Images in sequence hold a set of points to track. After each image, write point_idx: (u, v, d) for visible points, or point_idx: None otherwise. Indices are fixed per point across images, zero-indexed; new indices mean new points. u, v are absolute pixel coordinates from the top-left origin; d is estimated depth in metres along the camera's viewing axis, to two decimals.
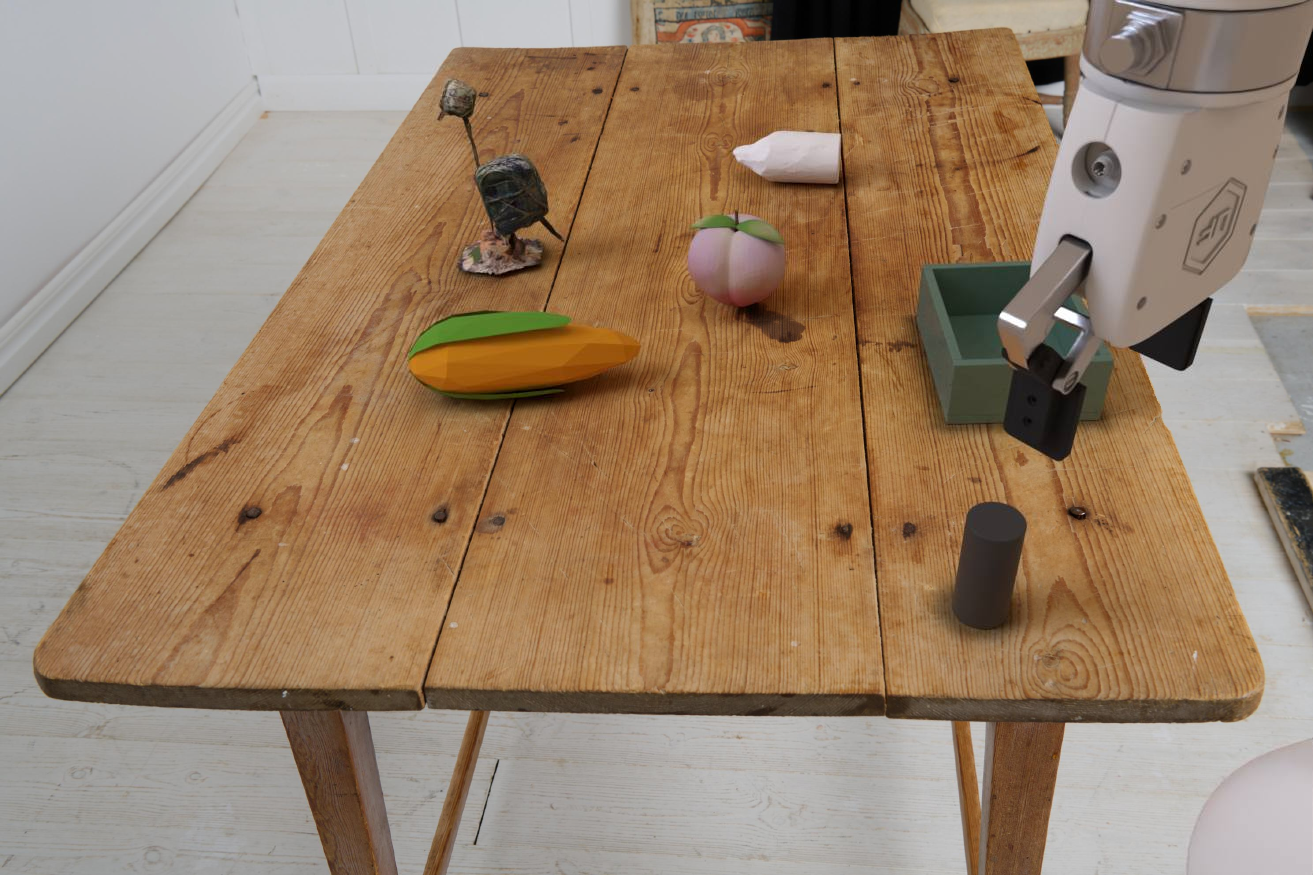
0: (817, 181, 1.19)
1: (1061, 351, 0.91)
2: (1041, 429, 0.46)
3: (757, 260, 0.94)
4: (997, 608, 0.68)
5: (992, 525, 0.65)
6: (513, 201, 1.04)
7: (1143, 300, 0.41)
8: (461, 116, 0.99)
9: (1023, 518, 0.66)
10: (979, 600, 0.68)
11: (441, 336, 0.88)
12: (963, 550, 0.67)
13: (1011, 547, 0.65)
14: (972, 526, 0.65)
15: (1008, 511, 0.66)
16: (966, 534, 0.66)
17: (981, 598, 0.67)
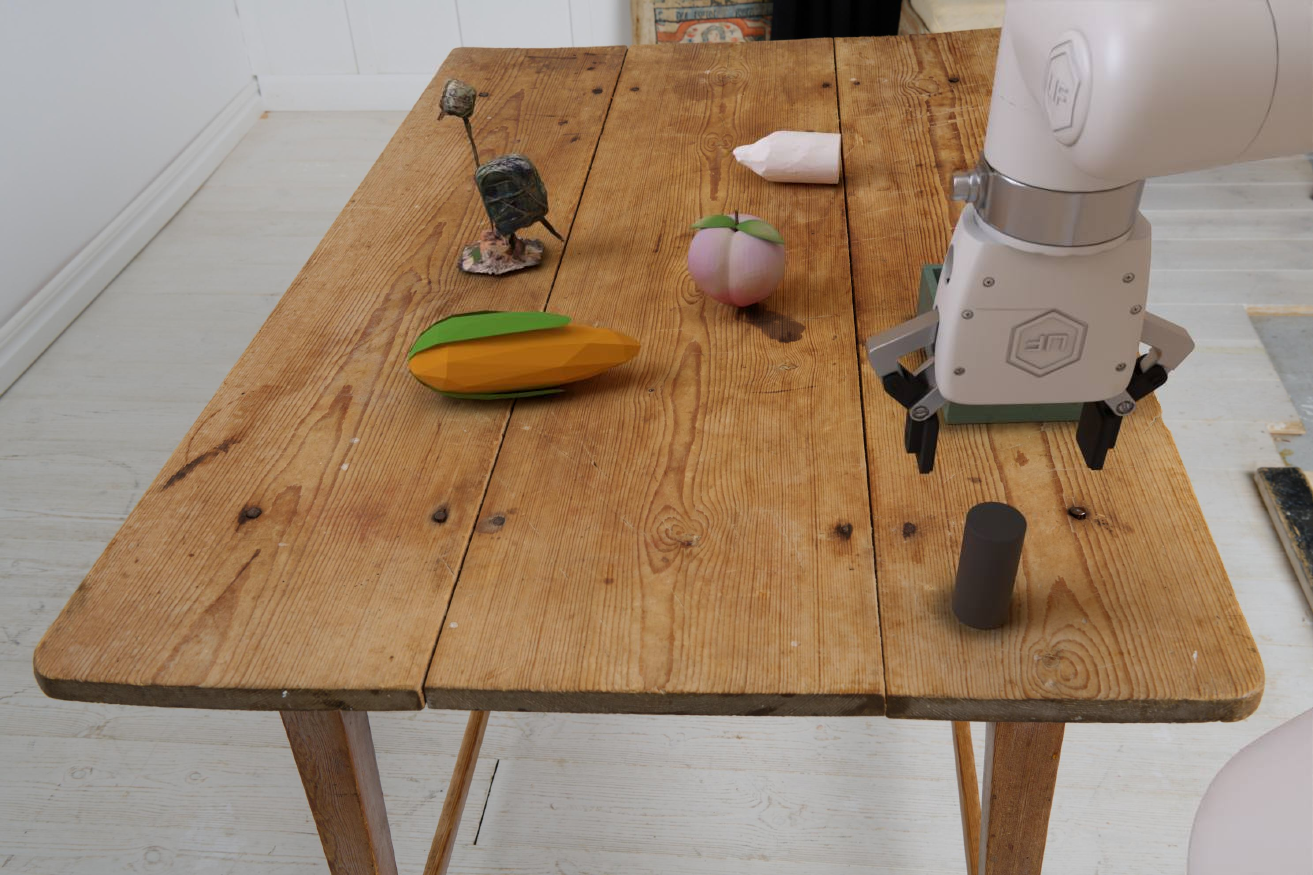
0: (817, 181, 1.19)
1: None
2: (909, 443, 0.62)
3: (757, 260, 0.94)
4: (997, 608, 0.68)
5: (992, 525, 0.65)
6: (513, 201, 1.04)
7: (964, 371, 0.56)
8: (461, 116, 0.99)
9: (1023, 518, 0.66)
10: (979, 600, 0.68)
11: (441, 336, 0.88)
12: (963, 550, 0.67)
13: (1011, 547, 0.65)
14: (972, 526, 0.65)
15: (1008, 511, 0.66)
16: (966, 534, 0.66)
17: (981, 598, 0.67)
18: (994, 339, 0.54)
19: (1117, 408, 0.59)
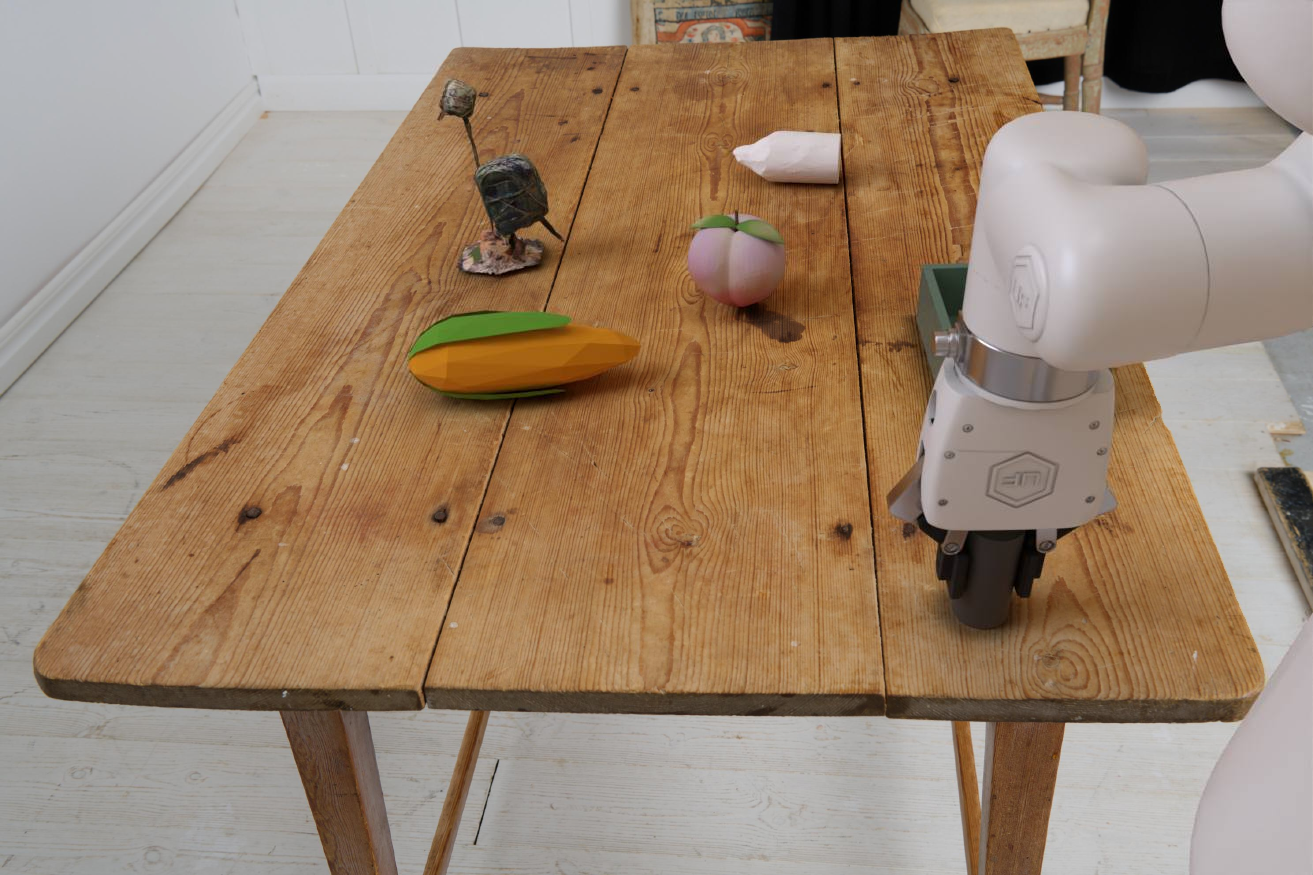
0: (817, 181, 1.19)
1: None
2: (940, 571, 0.68)
3: (757, 260, 0.94)
4: (997, 608, 0.68)
5: None
6: (513, 201, 1.04)
7: (947, 502, 0.61)
8: (461, 116, 0.99)
9: None
10: (979, 600, 0.68)
11: (441, 336, 0.88)
12: None
13: (1011, 547, 0.65)
14: None
15: None
16: None
17: (981, 598, 0.67)
18: (974, 476, 0.60)
19: (1040, 546, 0.65)
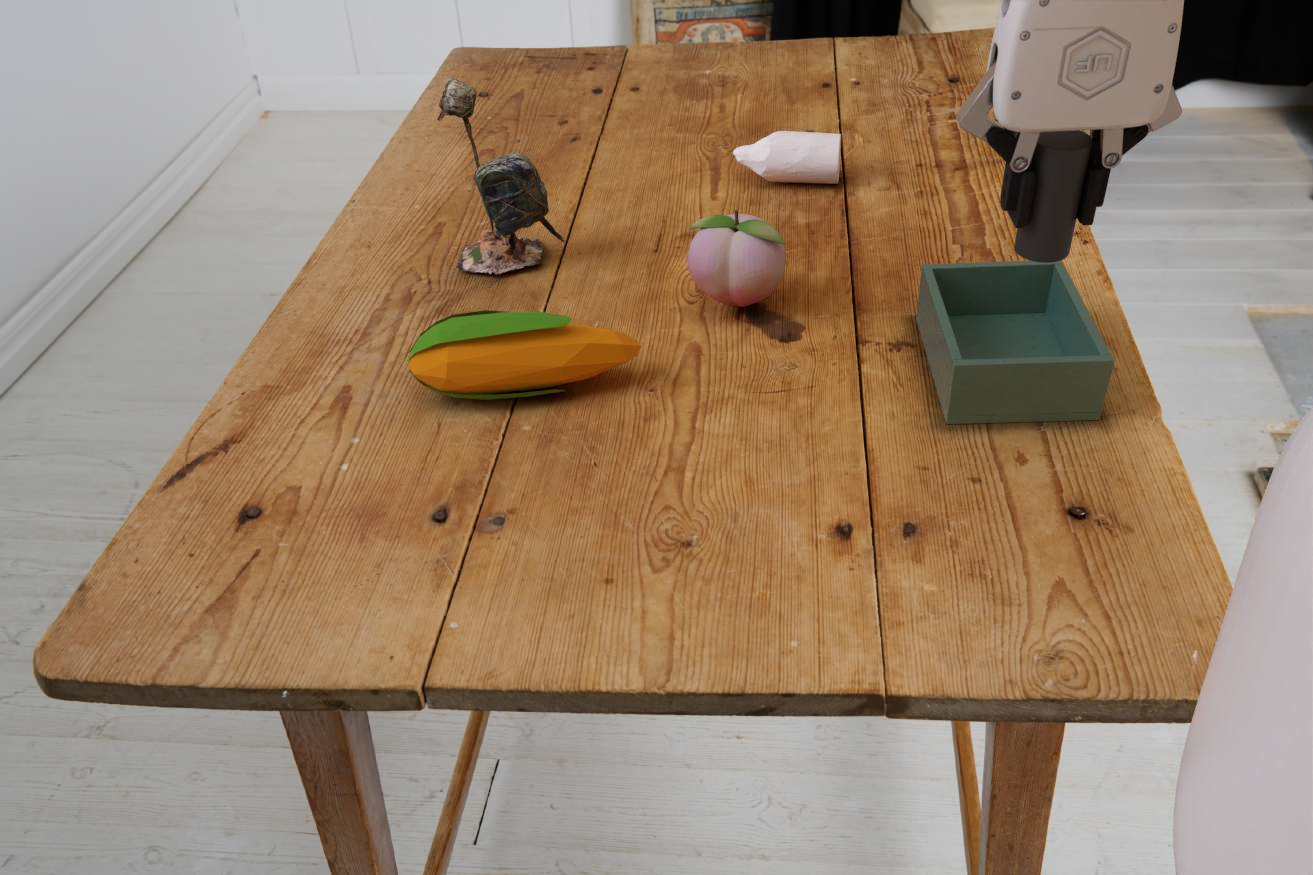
0: (817, 181, 1.19)
1: (1061, 351, 0.91)
2: (1007, 199, 0.70)
3: (757, 260, 0.94)
4: (1060, 236, 0.70)
5: (1059, 141, 0.67)
6: (513, 201, 1.04)
7: (1020, 95, 0.63)
8: (461, 116, 0.99)
9: (1088, 136, 0.68)
10: (1044, 227, 0.70)
11: (441, 336, 0.88)
12: None
13: (1078, 158, 0.67)
14: (1039, 142, 0.67)
15: (1073, 132, 0.68)
16: (1033, 154, 0.68)
17: (1046, 224, 0.70)
18: (1048, 60, 0.62)
19: (1105, 161, 0.67)
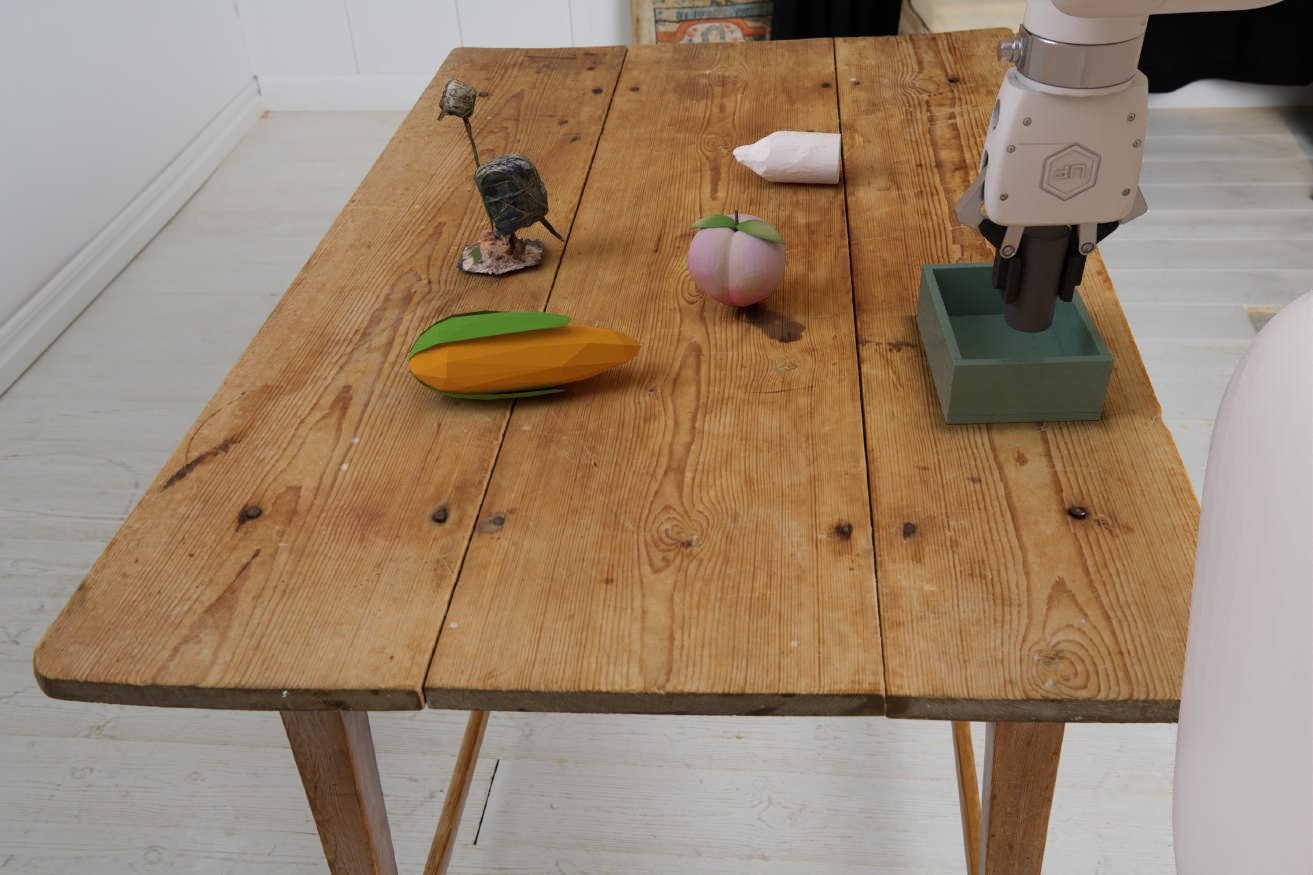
0: (817, 181, 1.19)
1: (1061, 351, 0.91)
2: (997, 279, 0.80)
3: (757, 260, 0.94)
4: (1044, 311, 0.81)
5: (1042, 231, 0.78)
6: (513, 201, 1.04)
7: (1007, 197, 0.74)
8: (461, 116, 0.99)
9: (1067, 226, 0.78)
10: (1029, 303, 0.80)
11: (441, 336, 0.88)
12: None
13: (1058, 247, 0.77)
14: (1025, 232, 0.78)
15: None
16: None
17: (1031, 300, 0.80)
18: (1030, 169, 0.72)
19: (1081, 249, 0.78)
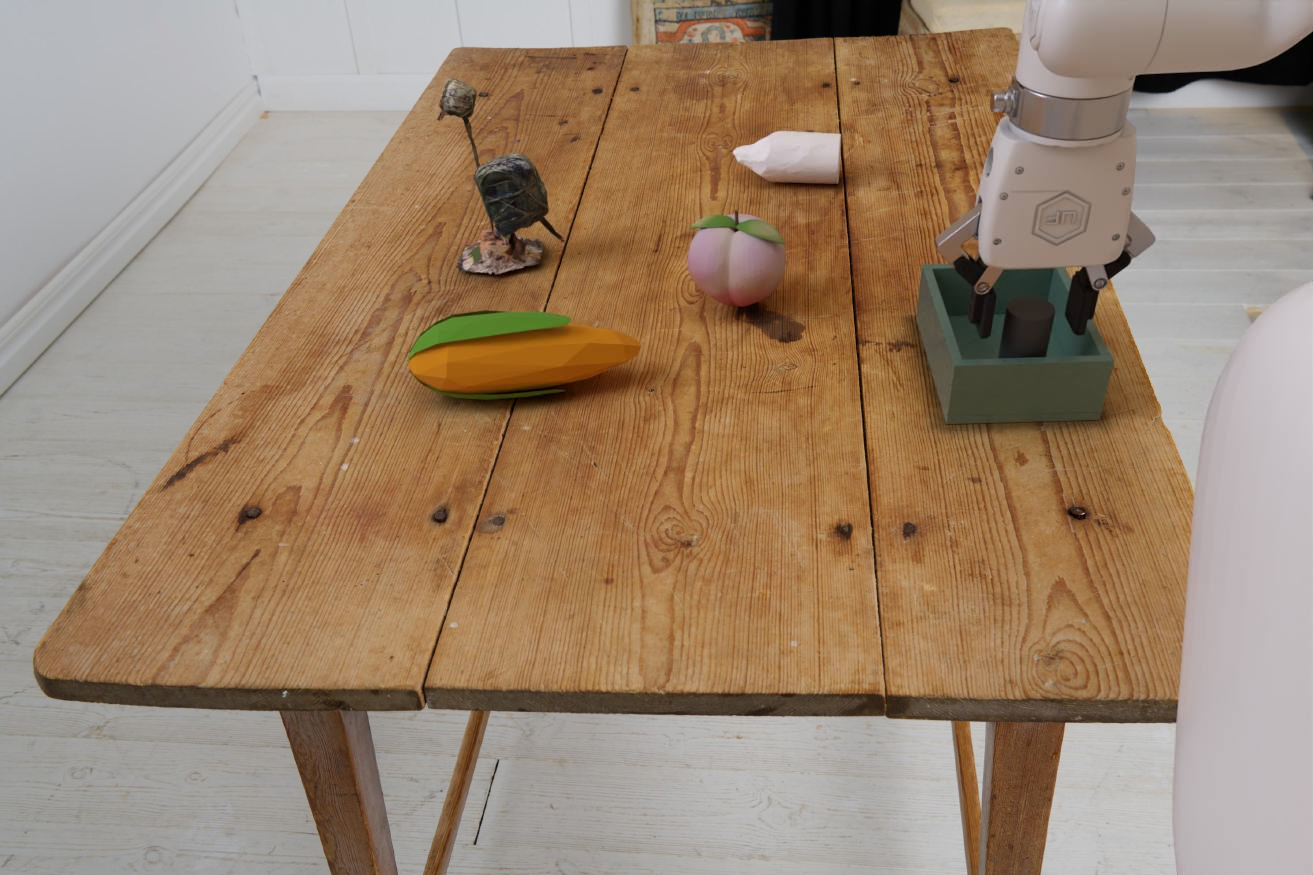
0: (817, 181, 1.19)
1: (1061, 351, 0.91)
2: (972, 314, 0.82)
3: (757, 260, 0.94)
4: None
5: (1027, 311, 0.82)
6: (513, 201, 1.04)
7: (1000, 241, 0.76)
8: (461, 116, 0.99)
9: (1052, 306, 0.82)
10: None
11: (441, 336, 0.88)
12: (1004, 335, 0.84)
13: (1043, 326, 0.81)
14: (1012, 311, 0.82)
15: (1040, 302, 0.83)
16: (1006, 319, 0.83)
17: None
18: (1023, 215, 0.74)
19: (1094, 284, 0.80)
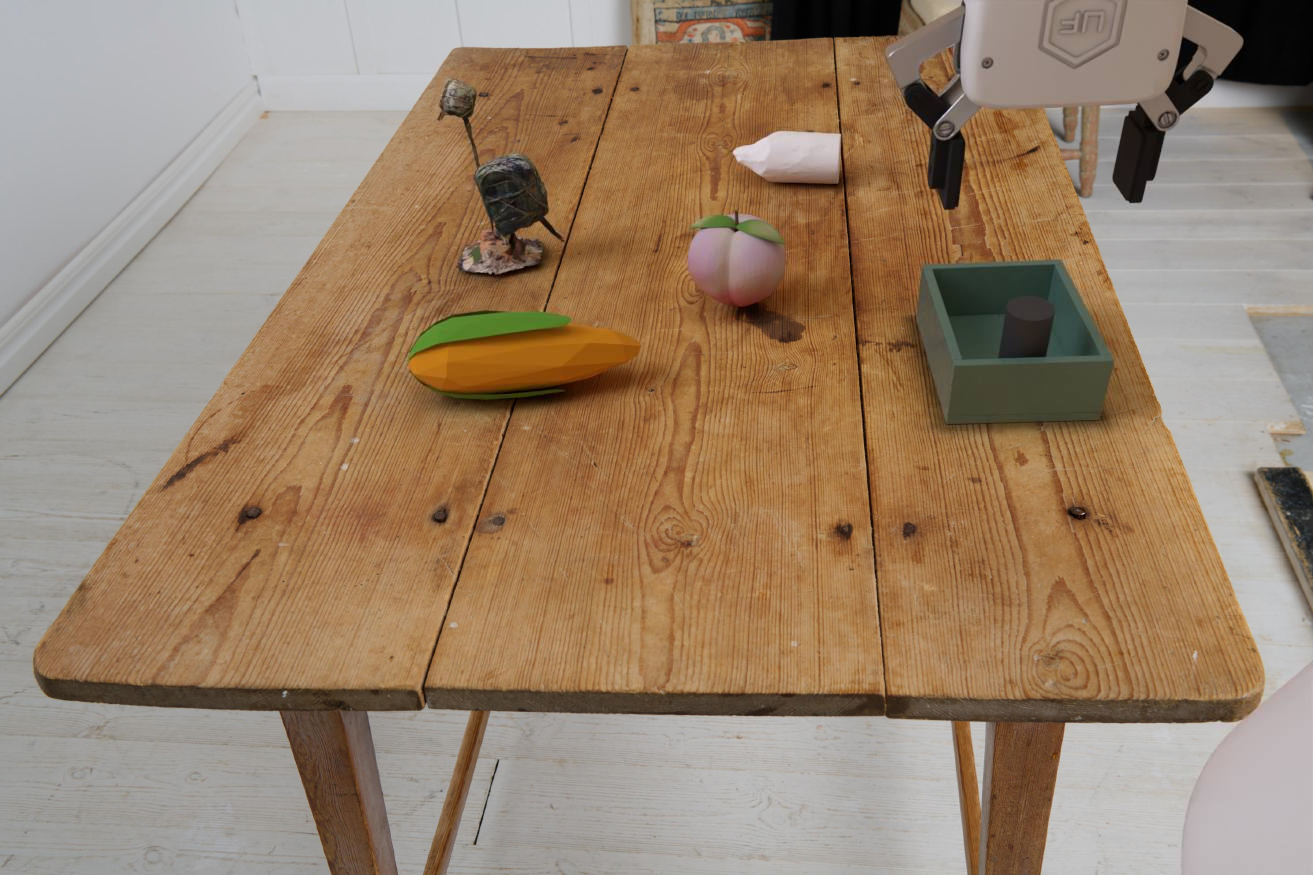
0: (817, 181, 1.19)
1: (1061, 351, 0.91)
2: (933, 174, 0.57)
3: (757, 260, 0.94)
4: None
5: (1027, 311, 0.82)
6: (513, 201, 1.04)
7: (992, 63, 0.52)
8: (461, 116, 0.99)
9: (1052, 306, 0.82)
10: None
11: (441, 336, 0.88)
12: (1004, 335, 0.84)
13: (1043, 326, 0.81)
14: (1012, 311, 0.82)
15: (1040, 302, 0.83)
16: (1006, 319, 0.83)
17: None
18: (1025, 18, 0.50)
19: (1158, 122, 0.54)
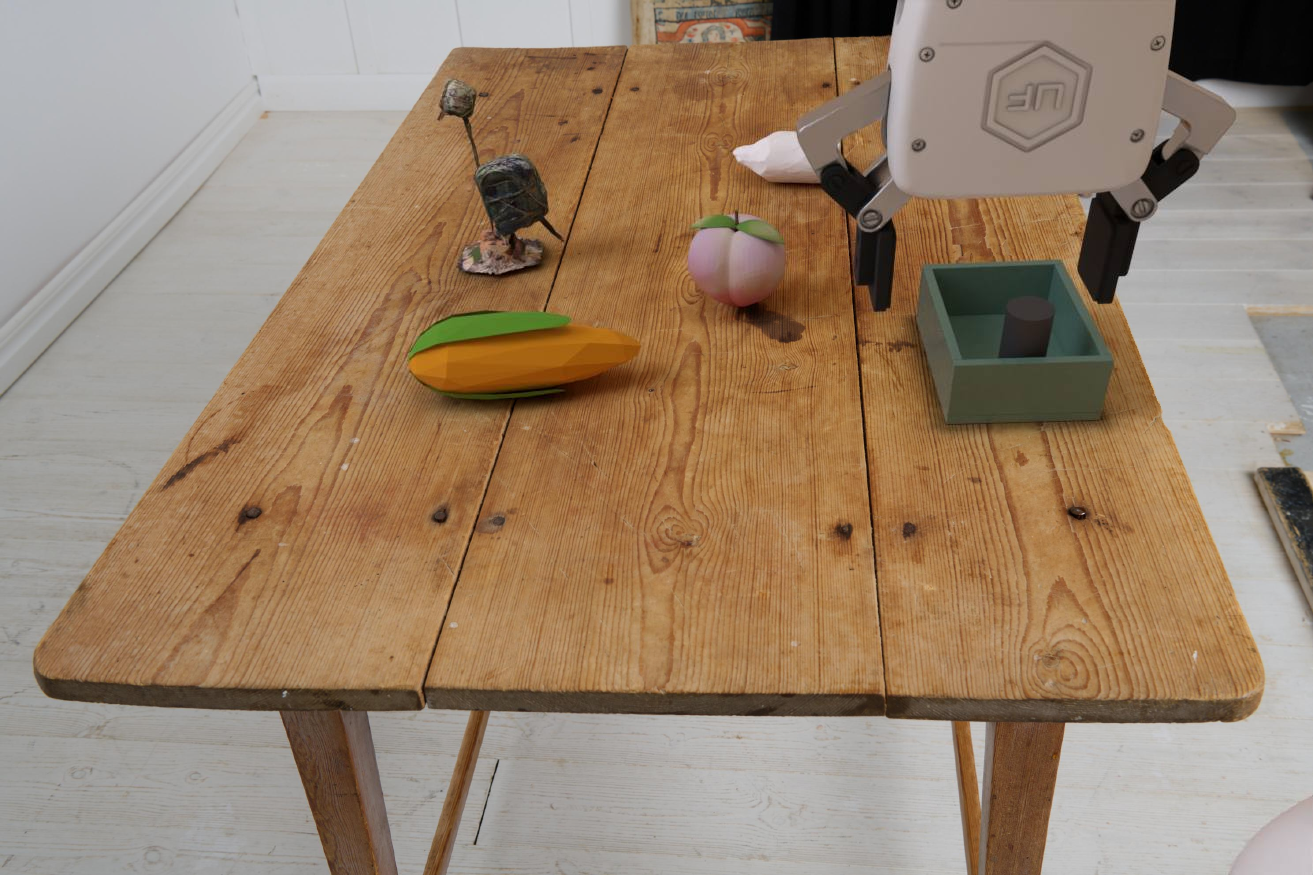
0: (817, 181, 1.19)
1: (1061, 351, 0.91)
2: (859, 270, 0.47)
3: (757, 260, 0.94)
4: None
5: (1027, 311, 0.82)
6: (513, 201, 1.04)
7: (925, 145, 0.41)
8: (461, 116, 0.99)
9: (1052, 306, 0.82)
10: None
11: (441, 336, 0.88)
12: (1004, 335, 0.84)
13: (1043, 326, 0.81)
14: (1012, 311, 0.82)
15: (1040, 302, 0.83)
16: (1006, 319, 0.83)
17: None
18: (964, 93, 0.40)
19: (1132, 211, 0.44)
